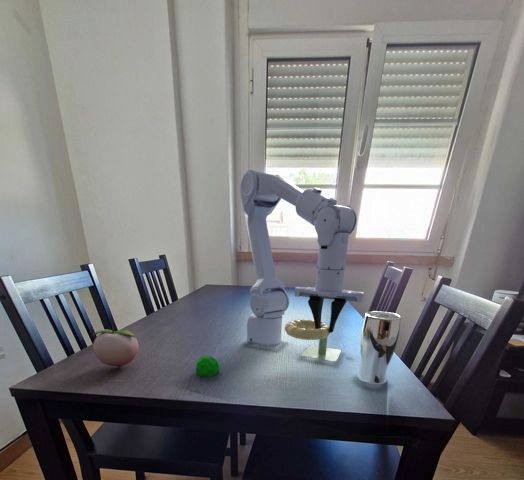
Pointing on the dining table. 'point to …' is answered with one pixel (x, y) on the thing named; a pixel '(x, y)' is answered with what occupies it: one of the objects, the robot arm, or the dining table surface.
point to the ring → (306, 330)
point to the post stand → (322, 351)
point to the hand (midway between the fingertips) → (324, 330)
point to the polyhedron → (207, 366)
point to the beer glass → (378, 345)
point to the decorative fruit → (115, 347)
